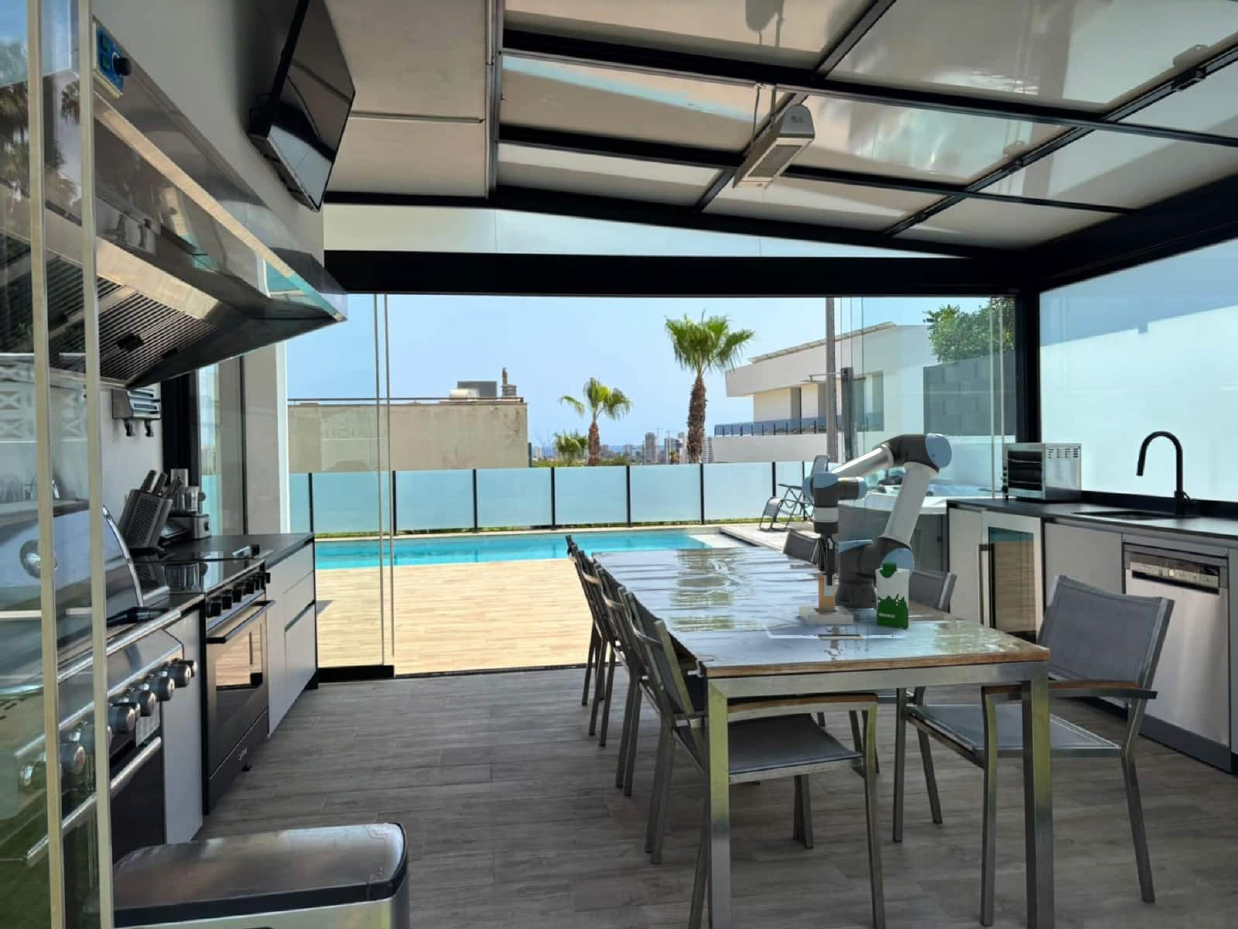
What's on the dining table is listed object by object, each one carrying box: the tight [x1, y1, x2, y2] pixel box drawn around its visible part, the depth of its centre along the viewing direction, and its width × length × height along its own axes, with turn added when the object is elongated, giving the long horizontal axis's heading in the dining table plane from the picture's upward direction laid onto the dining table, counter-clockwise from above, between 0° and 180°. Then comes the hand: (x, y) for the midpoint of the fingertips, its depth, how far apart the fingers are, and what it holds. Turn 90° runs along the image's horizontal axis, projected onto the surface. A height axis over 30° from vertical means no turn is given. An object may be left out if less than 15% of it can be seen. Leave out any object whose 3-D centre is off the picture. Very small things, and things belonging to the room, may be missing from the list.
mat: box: [816, 633, 865, 641], centre depth 246 cm, size 12×12×1 cm
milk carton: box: [875, 563, 910, 630], centre depth 256 cm, size 9×9×20 cm
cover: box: [816, 572, 837, 611], centre depth 263 cm, size 6×6×11 cm
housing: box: [798, 605, 855, 626], centre depth 263 cm, size 14×14×4 cm
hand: (826, 593), depth 263 cm, fingers closed on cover, 6 cm apart
